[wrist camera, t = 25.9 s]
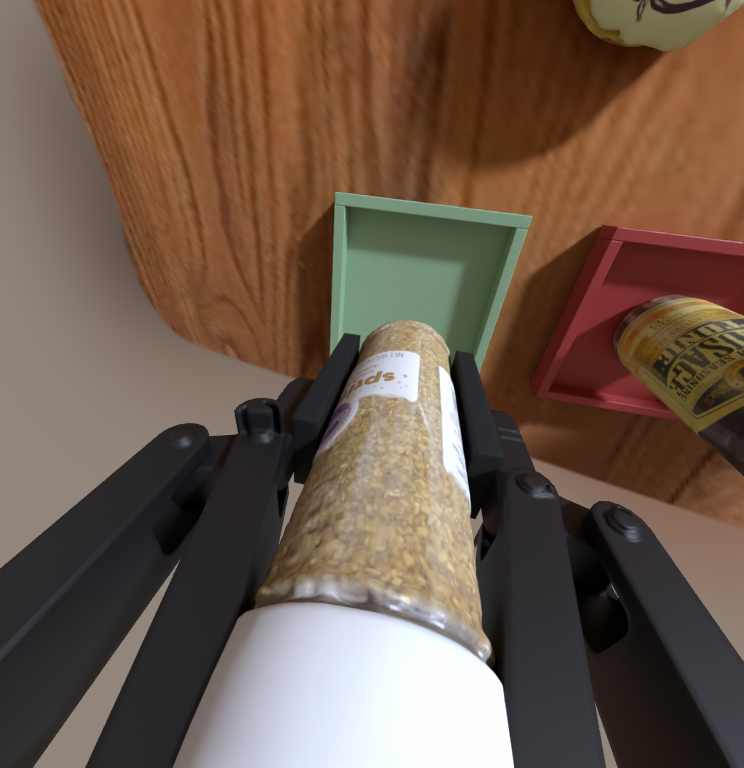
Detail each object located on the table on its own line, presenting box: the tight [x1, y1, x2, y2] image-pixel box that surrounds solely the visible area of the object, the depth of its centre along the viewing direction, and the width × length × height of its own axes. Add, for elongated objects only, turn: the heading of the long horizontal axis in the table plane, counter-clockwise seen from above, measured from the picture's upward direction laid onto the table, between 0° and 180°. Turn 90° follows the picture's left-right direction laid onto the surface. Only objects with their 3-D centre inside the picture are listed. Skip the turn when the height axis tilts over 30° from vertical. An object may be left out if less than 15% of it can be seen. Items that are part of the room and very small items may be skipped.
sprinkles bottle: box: [173, 320, 514, 768], centre depth 9 cm, size 5×5×14 cm
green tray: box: [329, 192, 532, 372], centre depth 25 cm, size 14×14×2 cm
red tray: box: [529, 225, 744, 422], centre depth 23 cm, size 14×14×2 cm
